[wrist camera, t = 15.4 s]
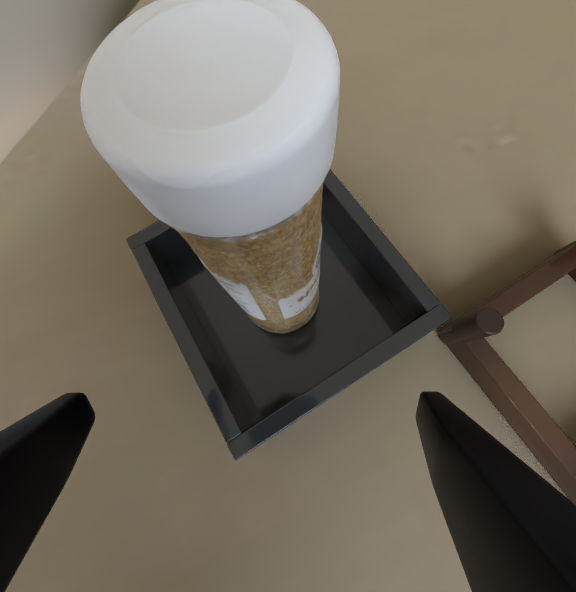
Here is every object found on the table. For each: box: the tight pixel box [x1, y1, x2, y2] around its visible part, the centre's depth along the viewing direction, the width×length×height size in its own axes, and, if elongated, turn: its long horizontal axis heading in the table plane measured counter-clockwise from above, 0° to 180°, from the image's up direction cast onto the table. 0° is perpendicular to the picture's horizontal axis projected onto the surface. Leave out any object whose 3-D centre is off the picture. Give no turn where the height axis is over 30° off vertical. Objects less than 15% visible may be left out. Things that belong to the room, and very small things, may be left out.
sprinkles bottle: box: [81, 0, 340, 334], centre depth 11 cm, size 5×5×13 cm
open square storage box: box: [126, 170, 452, 460], centre depth 17 cm, size 13×12×4 cm
